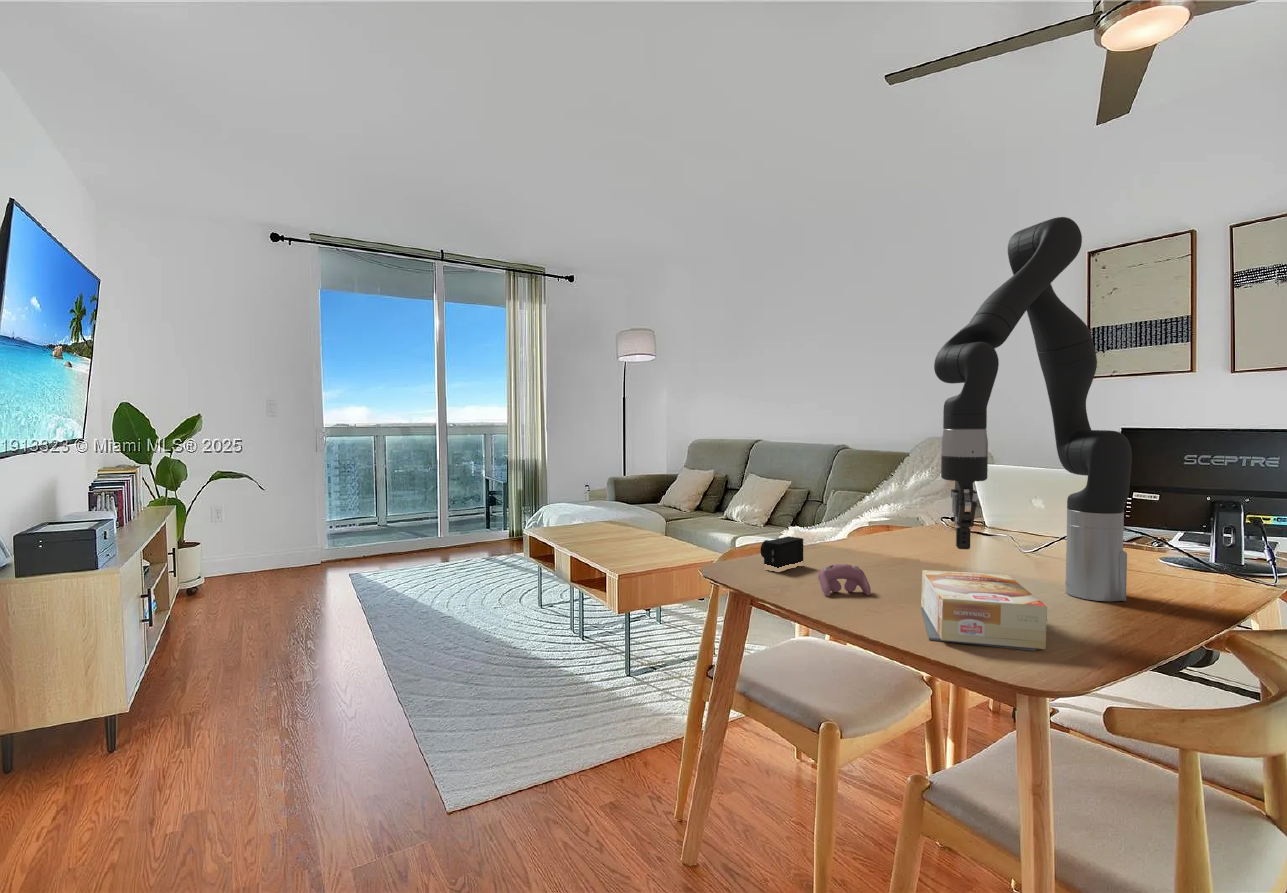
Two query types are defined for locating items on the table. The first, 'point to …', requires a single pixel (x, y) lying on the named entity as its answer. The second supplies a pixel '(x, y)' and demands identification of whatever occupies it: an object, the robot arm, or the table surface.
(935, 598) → the coffeecake box
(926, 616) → the mat
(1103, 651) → the table surface
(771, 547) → the digital camera
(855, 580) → the video game controller
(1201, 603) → the table surface
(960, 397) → the robot arm
